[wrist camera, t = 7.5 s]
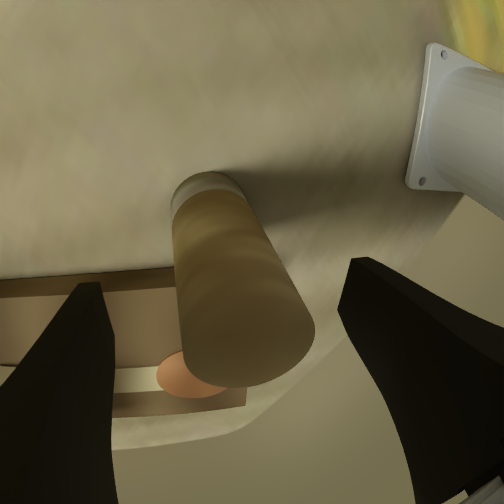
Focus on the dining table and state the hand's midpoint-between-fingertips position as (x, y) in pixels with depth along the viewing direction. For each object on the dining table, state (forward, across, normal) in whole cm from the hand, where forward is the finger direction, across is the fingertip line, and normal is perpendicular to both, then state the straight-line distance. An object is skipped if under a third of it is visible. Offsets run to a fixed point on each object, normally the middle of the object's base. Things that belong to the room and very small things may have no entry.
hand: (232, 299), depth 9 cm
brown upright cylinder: (+6, 0, 0) cm, 6 cm away
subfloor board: (+6, +6, +8) cm, 12 cm away
